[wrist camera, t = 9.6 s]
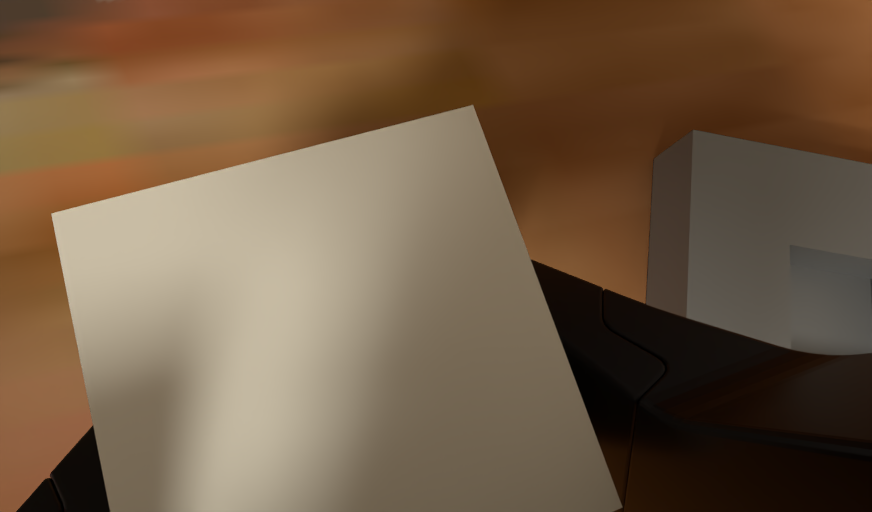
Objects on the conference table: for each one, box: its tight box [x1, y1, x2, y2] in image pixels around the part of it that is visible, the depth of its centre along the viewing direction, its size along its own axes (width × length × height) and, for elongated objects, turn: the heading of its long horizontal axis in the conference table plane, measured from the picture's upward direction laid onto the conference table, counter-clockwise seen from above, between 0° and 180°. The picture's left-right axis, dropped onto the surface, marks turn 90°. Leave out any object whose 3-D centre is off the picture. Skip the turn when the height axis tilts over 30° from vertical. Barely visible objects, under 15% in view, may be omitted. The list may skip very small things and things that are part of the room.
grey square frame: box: [646, 130, 872, 355], centre depth 17 cm, size 12×12×2 cm
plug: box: [52, 105, 623, 512], centre depth 10 cm, size 4×4×11 cm
